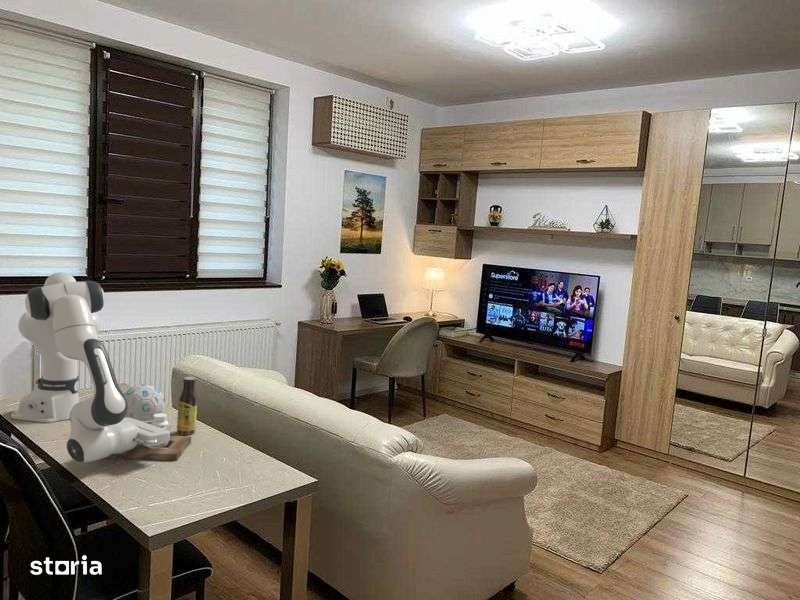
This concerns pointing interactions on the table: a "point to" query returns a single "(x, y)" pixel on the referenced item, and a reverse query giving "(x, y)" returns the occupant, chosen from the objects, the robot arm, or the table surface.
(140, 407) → the puzzle ball
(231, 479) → the table surface
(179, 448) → the socket block
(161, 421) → the supplement bottle
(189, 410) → the sauce bottle
